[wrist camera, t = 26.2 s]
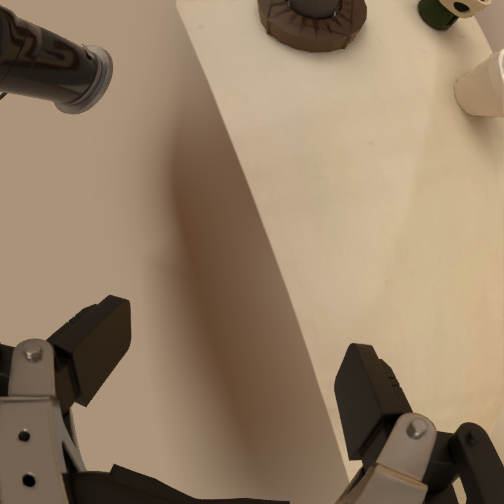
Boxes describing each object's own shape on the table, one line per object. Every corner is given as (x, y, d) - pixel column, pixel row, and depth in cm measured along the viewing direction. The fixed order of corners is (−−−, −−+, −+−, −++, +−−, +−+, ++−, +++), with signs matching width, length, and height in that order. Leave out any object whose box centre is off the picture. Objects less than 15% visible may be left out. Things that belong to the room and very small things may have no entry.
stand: (251, 42, 30) (248, 29, 26) (267, -25, 26) (266, -40, 22) (355, 63, 30) (364, 52, 26) (360, -7, 26) (367, -20, 22)
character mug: (416, 32, 27) (458, -3, 14) (397, -3, 25) (429, -43, 13) (463, 36, 25) (507, 11, 13) (445, 2, 24) (482, -28, 11)
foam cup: (437, 73, 28) (487, 48, 16) (473, 66, 27) (521, 47, 14) (462, 131, 31) (519, 125, 18) (495, 119, 29) (548, 114, 16)
